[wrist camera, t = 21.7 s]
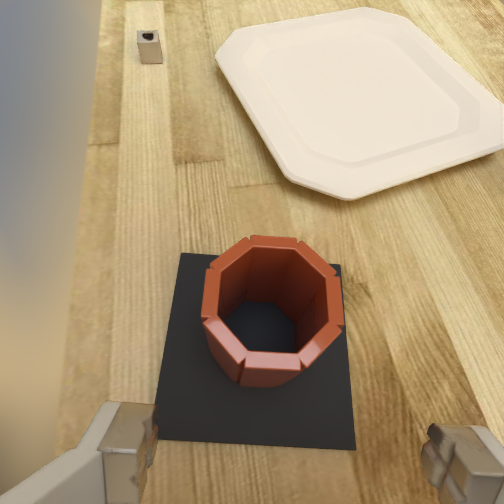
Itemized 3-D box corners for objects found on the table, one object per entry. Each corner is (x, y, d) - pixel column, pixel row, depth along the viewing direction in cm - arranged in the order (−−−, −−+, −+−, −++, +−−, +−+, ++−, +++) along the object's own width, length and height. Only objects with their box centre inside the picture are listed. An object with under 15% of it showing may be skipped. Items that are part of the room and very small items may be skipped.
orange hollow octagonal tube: (306, 389, 20) (349, 373, 13) (207, 384, 20) (194, 365, 13) (303, 295, 23) (336, 239, 16) (216, 290, 23) (210, 231, 16)
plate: (521, 151, 32) (540, 134, 30) (303, 227, 26) (309, 212, 24) (382, 19, 42) (390, 0, 40) (202, 53, 36) (201, 32, 34)
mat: (352, 449, 19) (356, 450, 19) (150, 438, 19) (148, 438, 18) (338, 267, 25) (340, 264, 24) (182, 255, 24) (181, 252, 24)
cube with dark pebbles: (161, 51, 36) (157, 27, 34) (162, 63, 35) (157, 39, 33) (141, 52, 36) (136, 27, 33) (142, 64, 35) (136, 39, 32)
